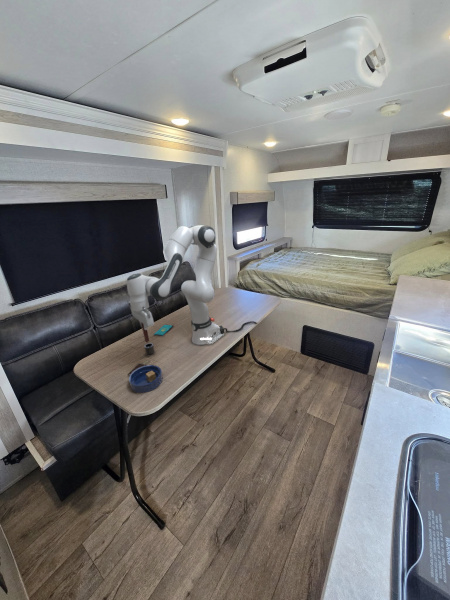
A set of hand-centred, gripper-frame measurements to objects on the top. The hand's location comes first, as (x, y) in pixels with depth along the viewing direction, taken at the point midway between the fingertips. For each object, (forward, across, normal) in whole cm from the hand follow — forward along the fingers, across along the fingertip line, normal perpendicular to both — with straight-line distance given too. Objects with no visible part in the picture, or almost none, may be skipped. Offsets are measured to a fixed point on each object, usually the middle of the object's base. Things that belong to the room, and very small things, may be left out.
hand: (144, 328), depth 130 cm
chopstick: (+8, 0, 0) cm, 8 cm away
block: (+20, -16, +7) cm, 27 cm away
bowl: (+21, -16, +10) cm, 28 cm away
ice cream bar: (+22, -3, +8) cm, 23 cm away
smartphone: (+21, +28, -23) cm, 41 cm away
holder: (+21, +7, -3) cm, 23 cm away
